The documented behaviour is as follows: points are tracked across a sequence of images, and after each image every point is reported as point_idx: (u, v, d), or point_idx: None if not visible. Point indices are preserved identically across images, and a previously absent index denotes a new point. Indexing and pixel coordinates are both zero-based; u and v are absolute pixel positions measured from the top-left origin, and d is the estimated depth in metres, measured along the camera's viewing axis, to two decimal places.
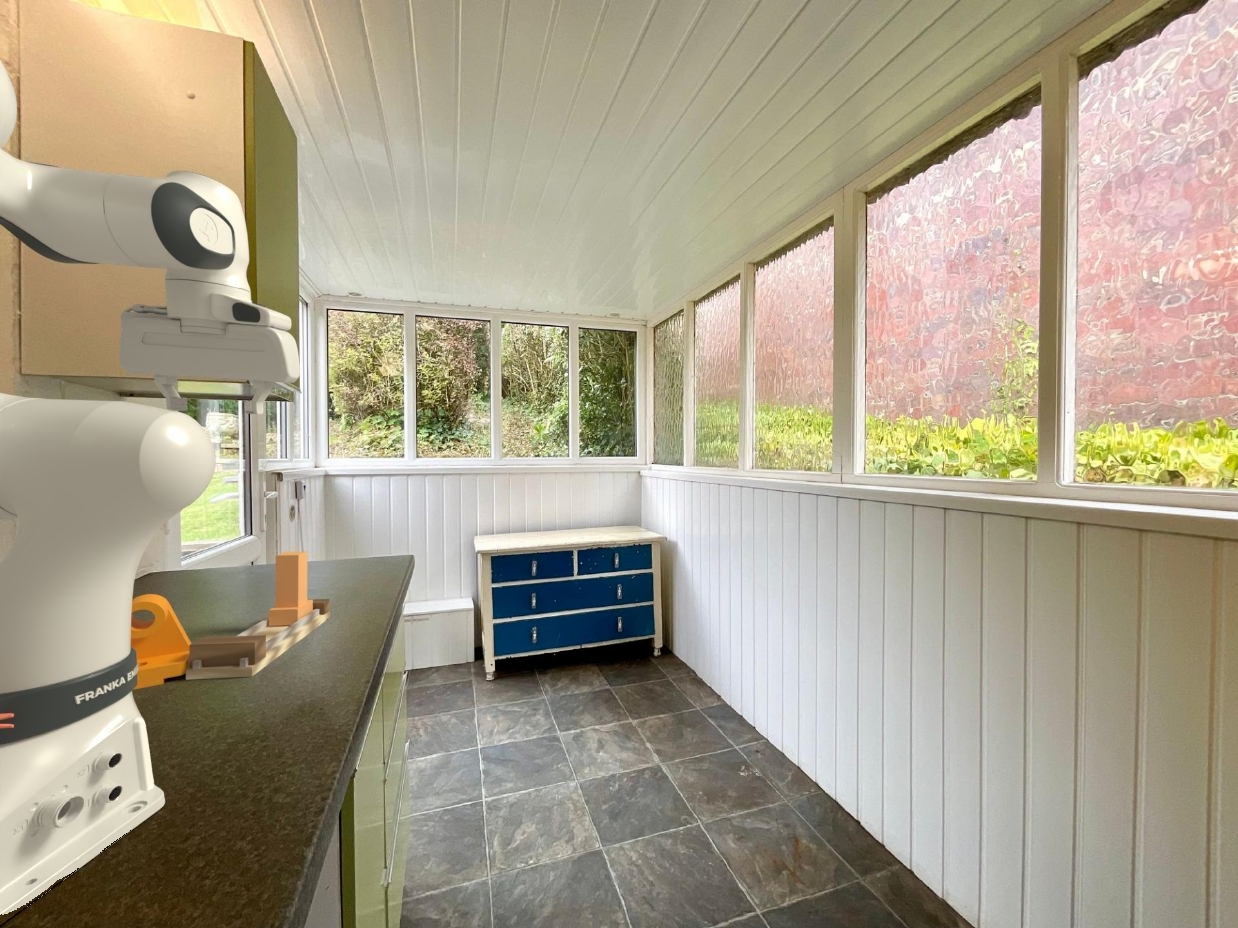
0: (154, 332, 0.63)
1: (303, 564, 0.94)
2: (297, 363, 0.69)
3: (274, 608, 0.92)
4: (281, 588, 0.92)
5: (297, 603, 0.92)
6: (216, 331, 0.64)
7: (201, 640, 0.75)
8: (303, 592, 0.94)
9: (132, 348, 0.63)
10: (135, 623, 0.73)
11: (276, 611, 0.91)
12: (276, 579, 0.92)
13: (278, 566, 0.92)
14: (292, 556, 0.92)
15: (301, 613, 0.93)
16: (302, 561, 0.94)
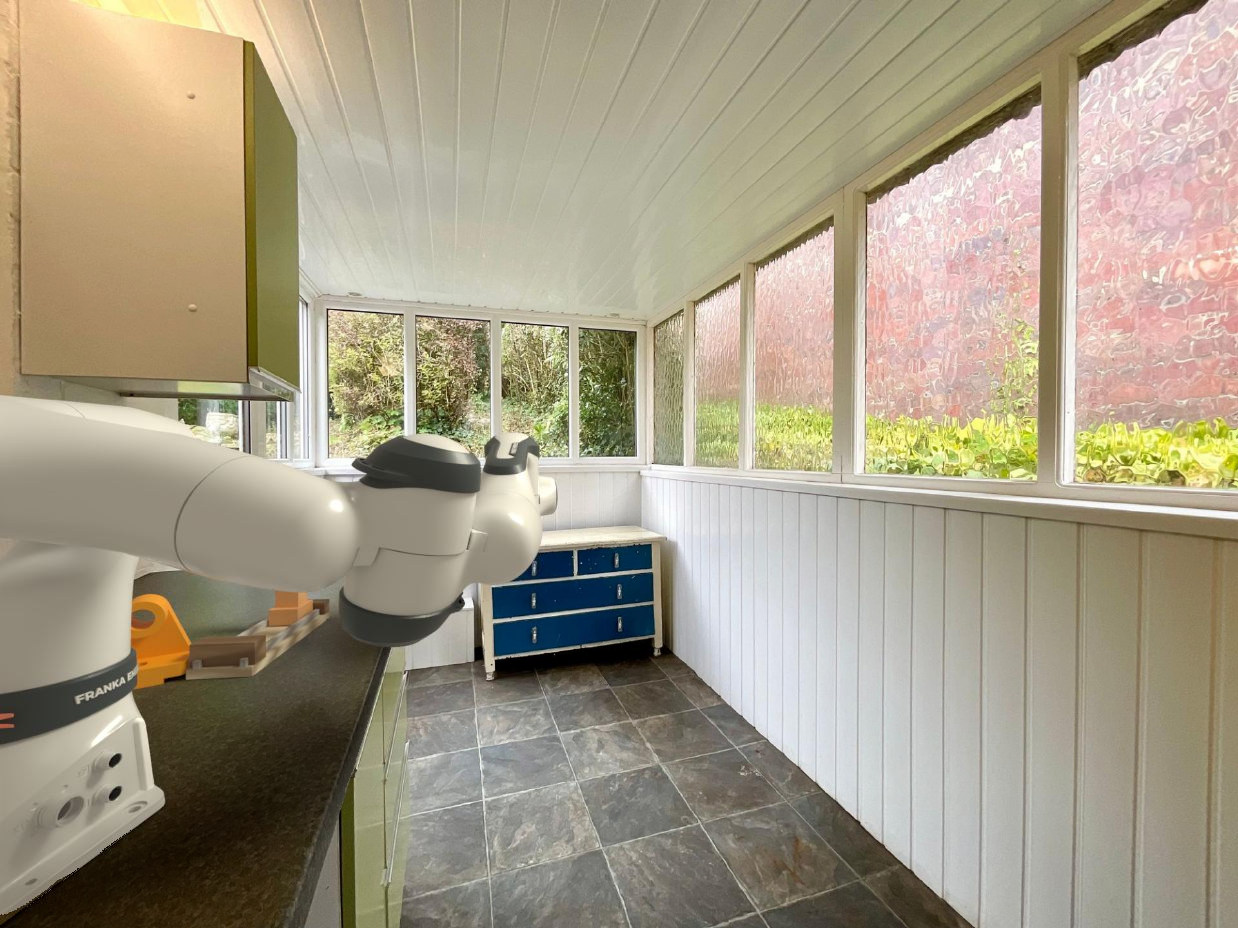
0: None
1: None
2: None
3: (274, 608, 0.92)
4: None
5: (297, 603, 0.92)
6: None
7: (201, 640, 0.75)
8: None
9: None
10: (135, 623, 0.73)
11: (276, 611, 0.91)
12: None
13: None
14: None
15: (301, 613, 0.93)
16: None
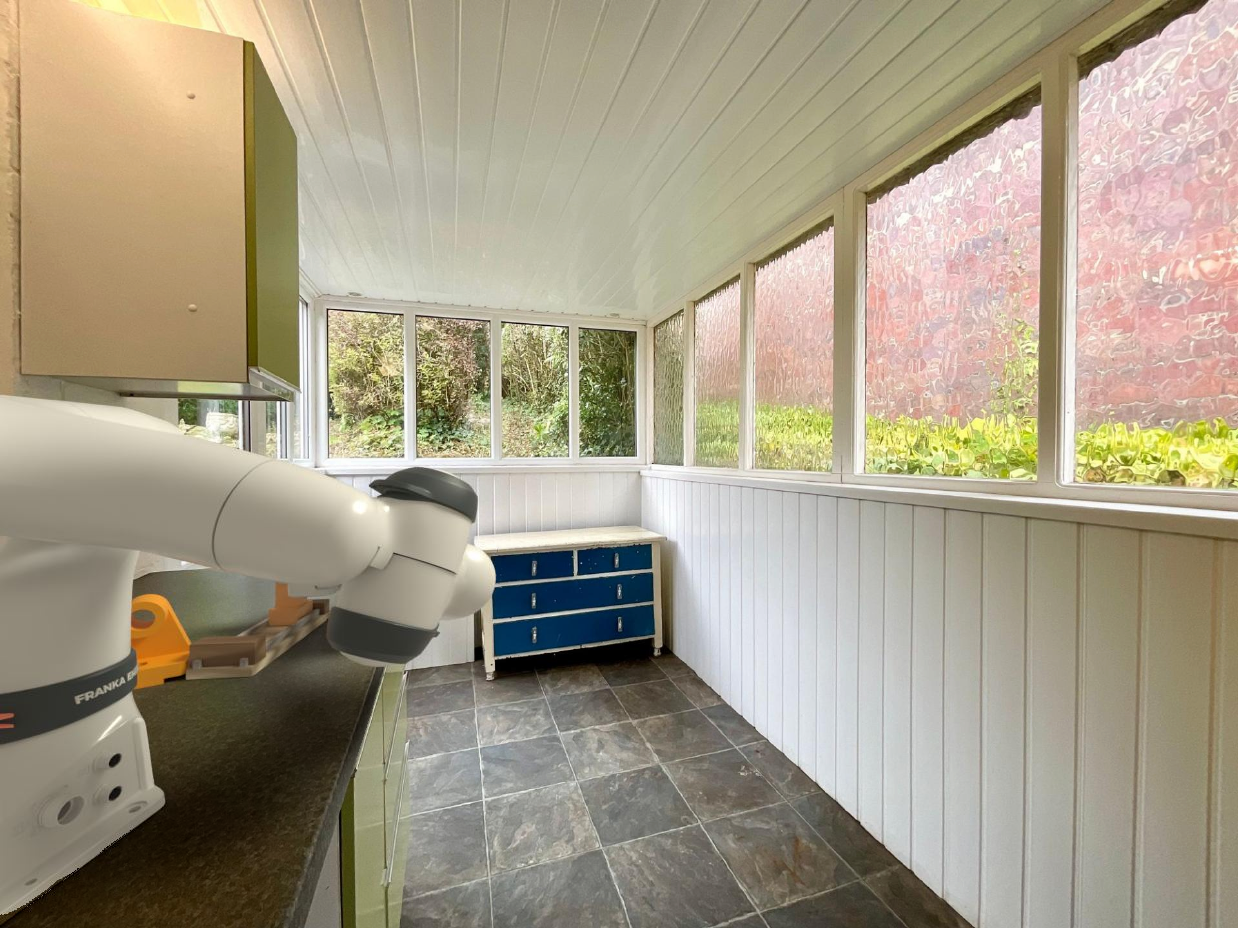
0: None
1: None
2: None
3: (274, 608, 0.92)
4: (281, 588, 0.92)
5: (297, 603, 0.92)
6: None
7: (201, 640, 0.75)
8: None
9: None
10: (135, 623, 0.73)
11: (276, 611, 0.91)
12: None
13: None
14: None
15: (301, 613, 0.93)
16: None
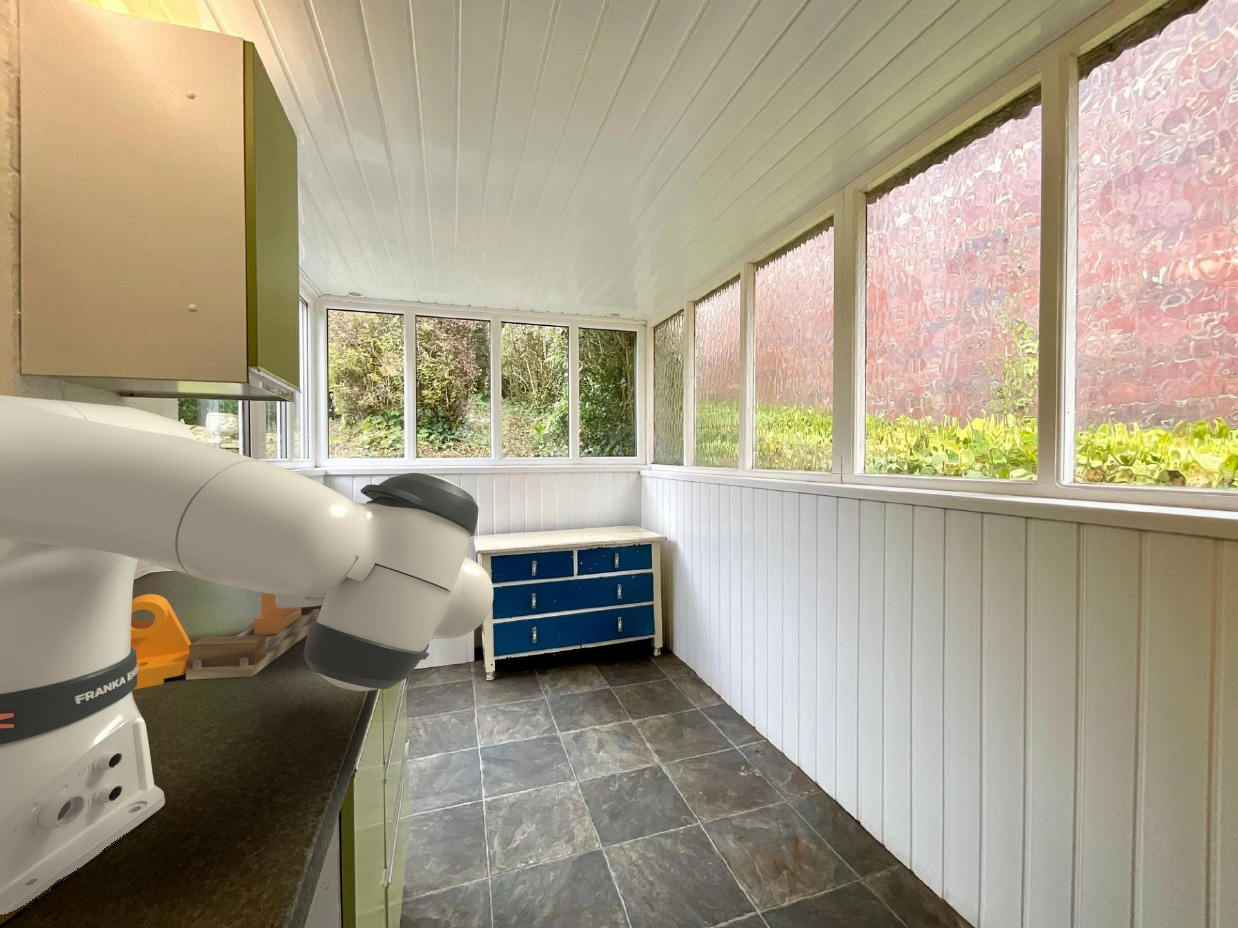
0: None
1: None
2: None
3: (260, 616, 0.87)
4: (267, 595, 0.87)
5: (284, 611, 0.88)
6: None
7: (201, 640, 0.75)
8: None
9: None
10: (135, 623, 0.73)
11: (262, 620, 0.86)
12: None
13: None
14: None
15: (288, 621, 0.88)
16: None
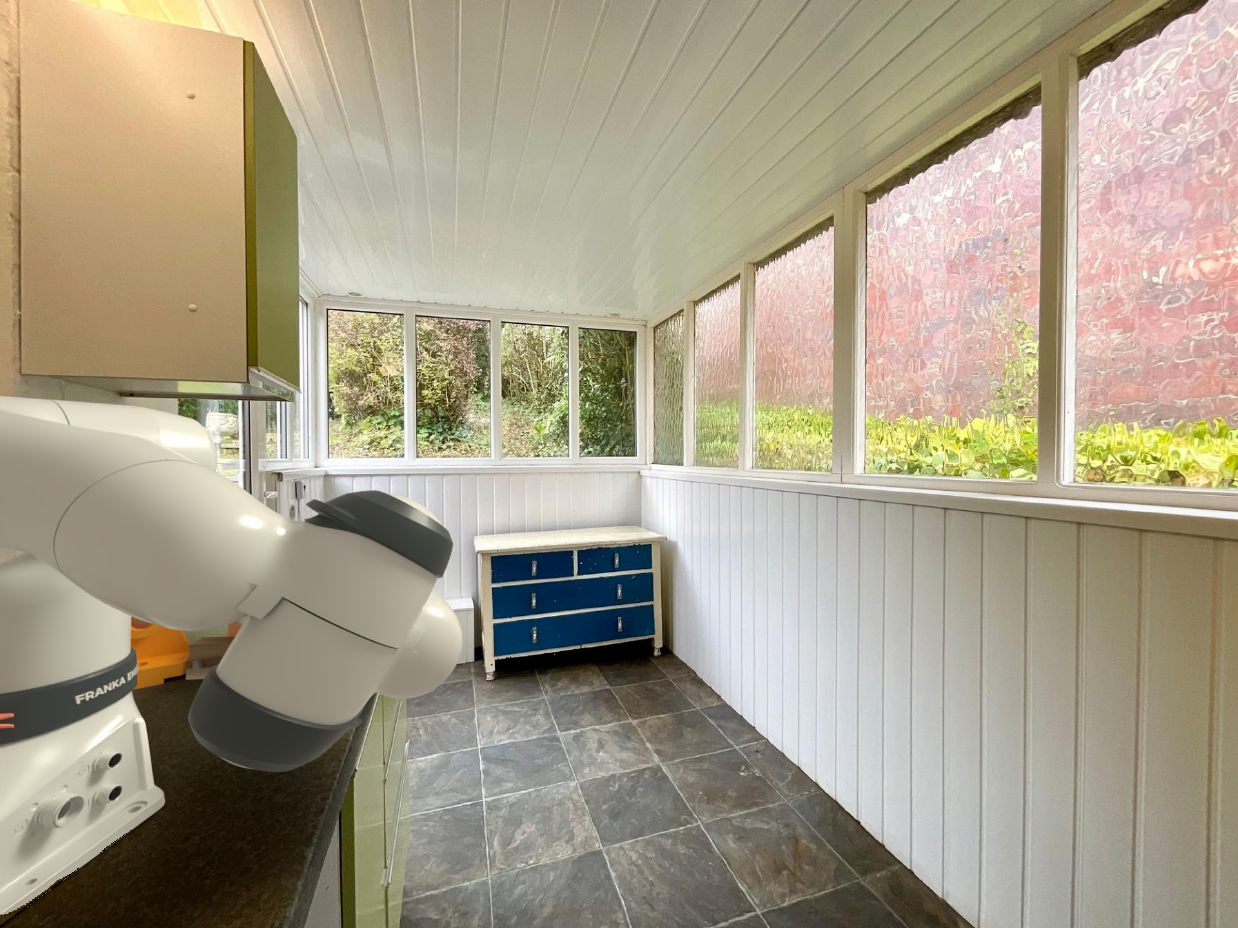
0: None
1: None
2: None
3: (226, 635, 0.78)
4: None
5: None
6: None
7: (201, 640, 0.75)
8: None
9: None
10: (135, 623, 0.73)
11: None
12: None
13: None
14: None
15: None
16: None
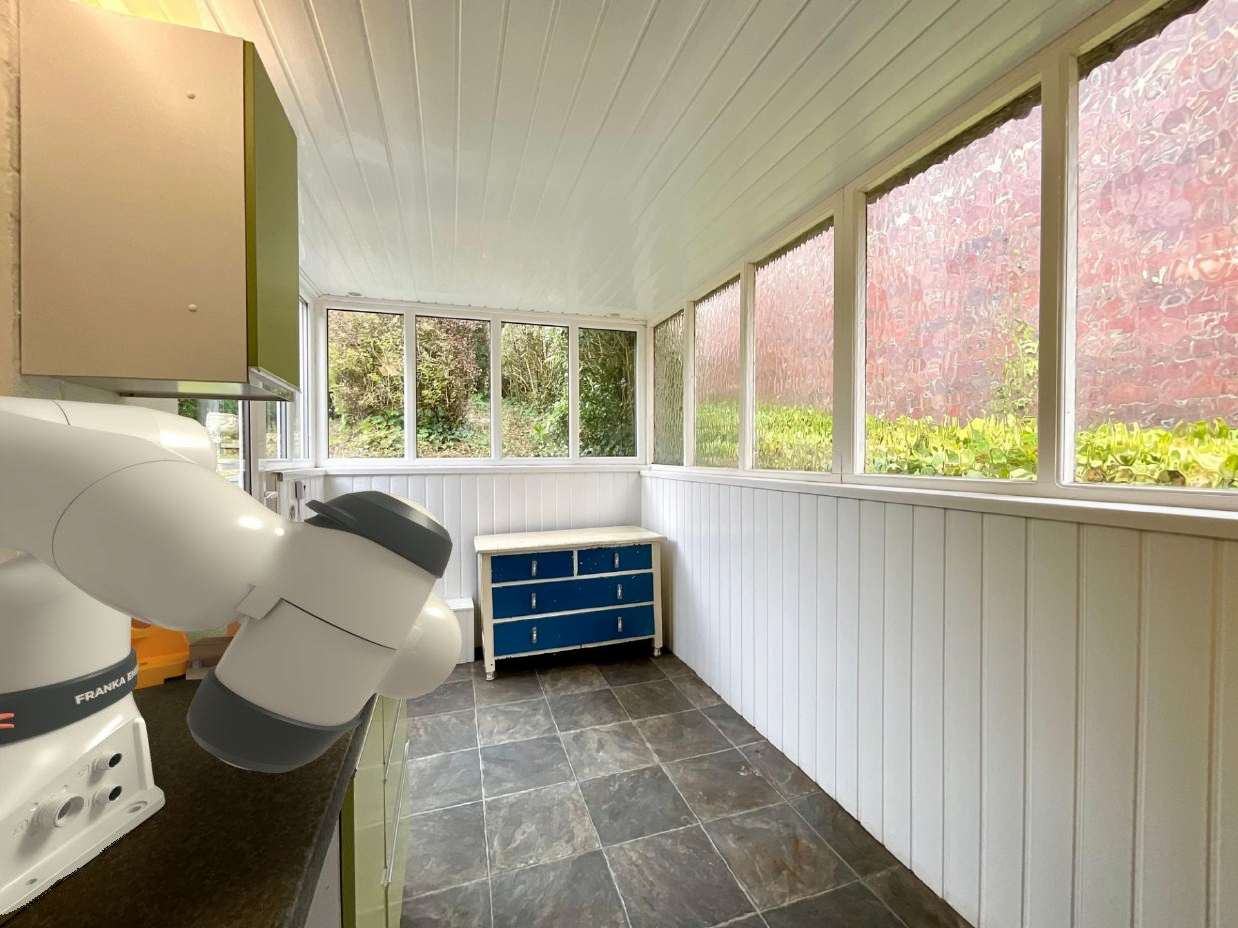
0: None
1: None
2: None
3: (226, 635, 0.78)
4: None
5: None
6: None
7: (201, 640, 0.75)
8: None
9: None
10: (135, 623, 0.73)
11: None
12: None
13: None
14: None
15: None
16: None
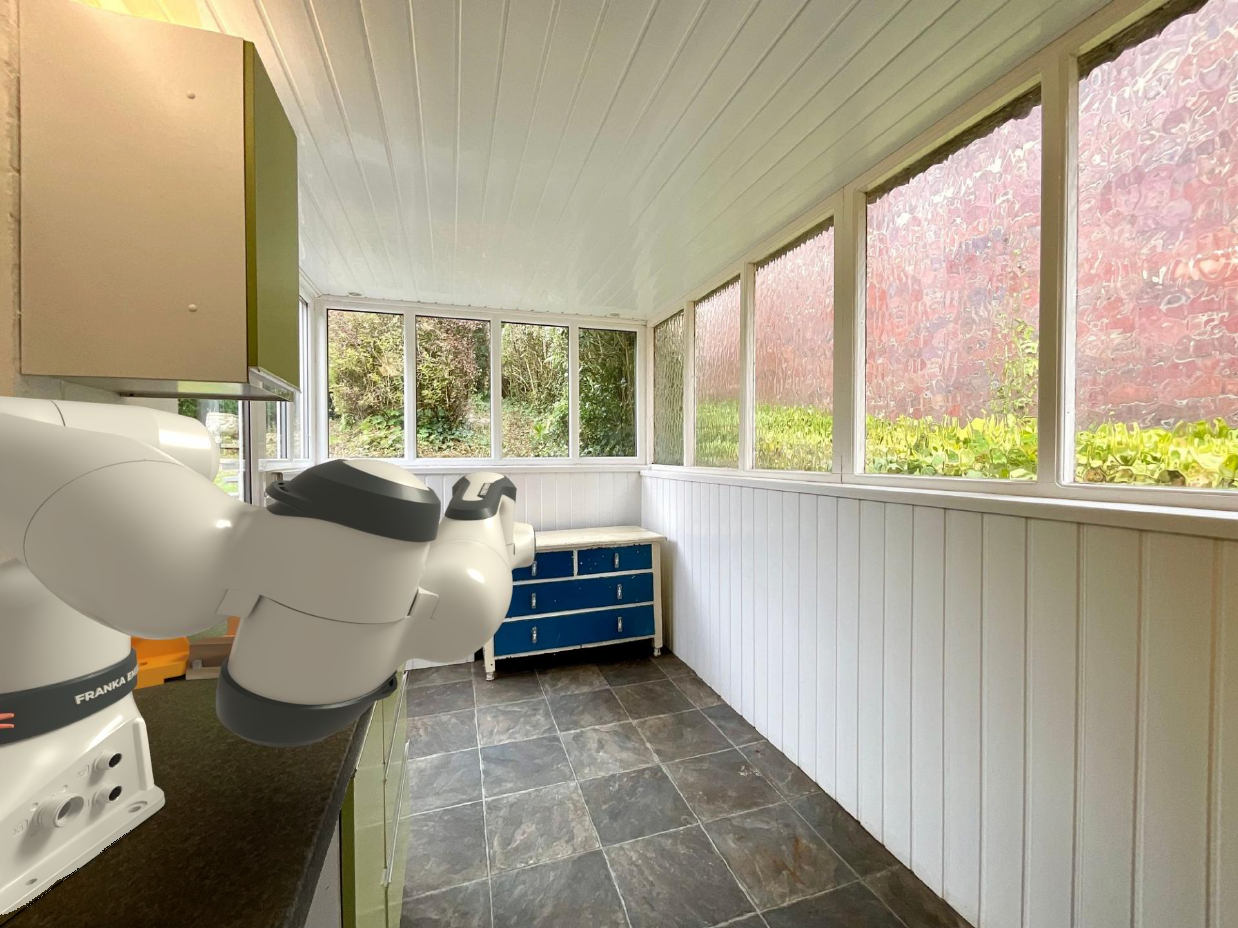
0: None
1: None
2: None
3: (226, 635, 0.78)
4: None
5: None
6: None
7: (201, 640, 0.75)
8: None
9: None
10: None
11: None
12: None
13: None
14: None
15: None
16: None
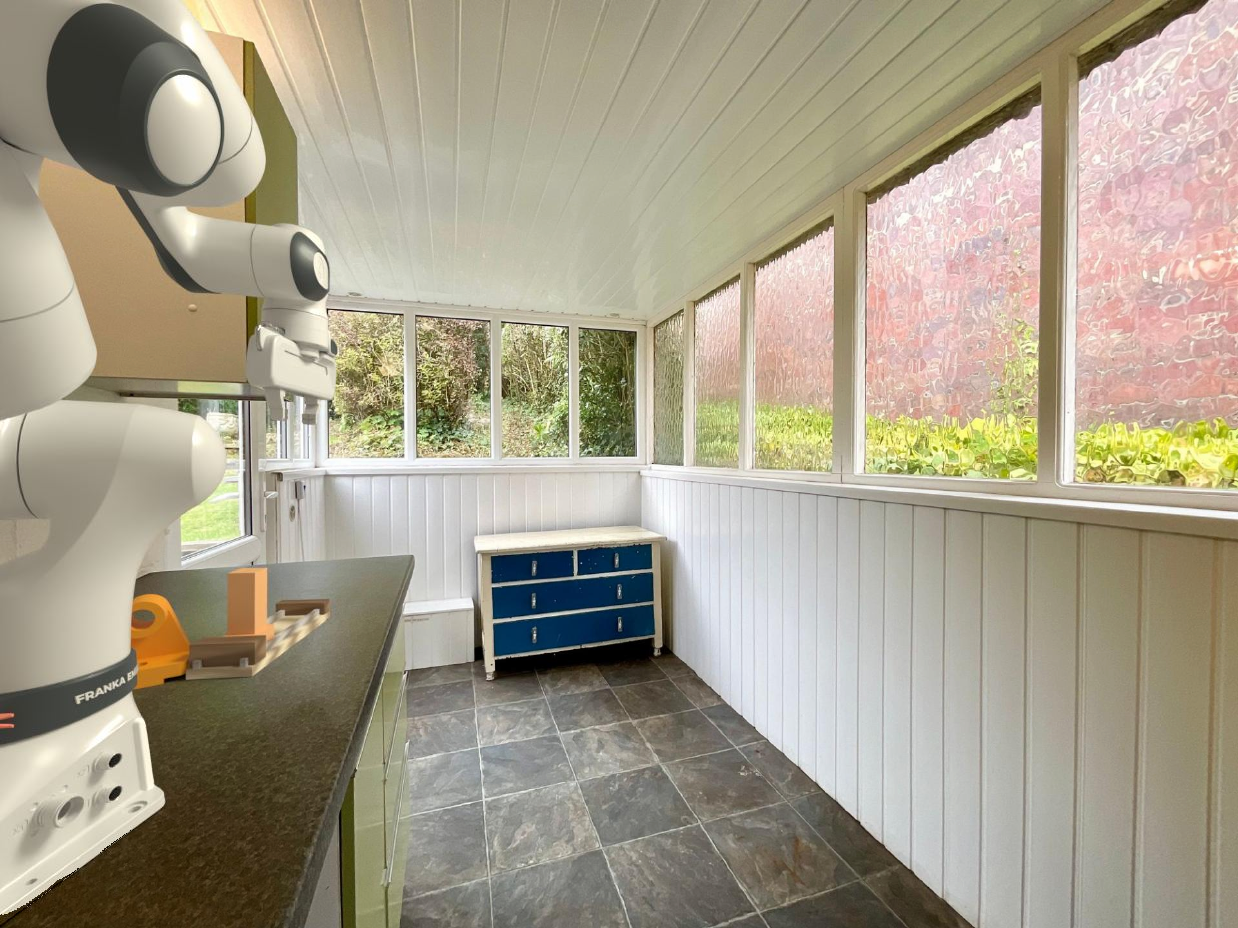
0: (288, 351, 0.71)
1: (261, 582, 0.80)
2: None
3: (226, 635, 0.78)
4: (234, 612, 0.78)
5: (253, 629, 0.78)
6: (318, 358, 0.79)
7: (201, 640, 0.75)
8: (261, 616, 0.80)
9: (279, 363, 0.69)
10: (135, 623, 0.73)
11: None
12: (228, 601, 0.78)
13: (231, 586, 0.78)
14: (247, 574, 0.78)
15: None
16: (260, 580, 0.80)
